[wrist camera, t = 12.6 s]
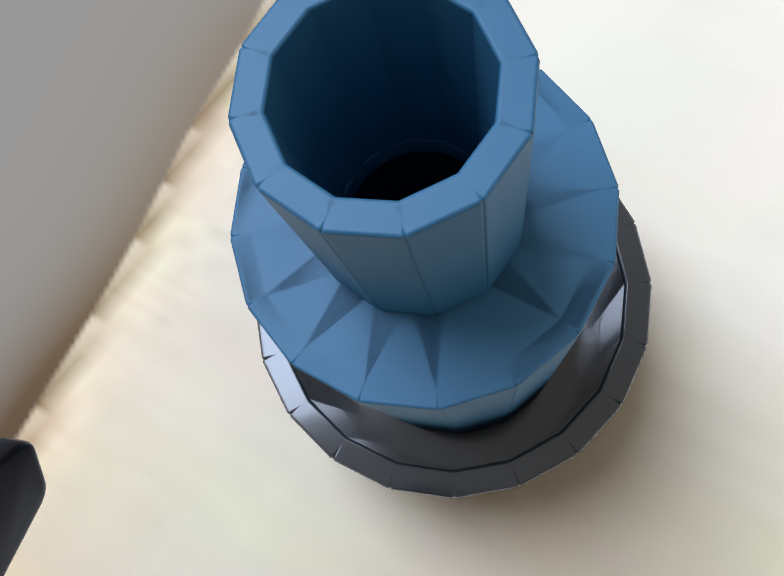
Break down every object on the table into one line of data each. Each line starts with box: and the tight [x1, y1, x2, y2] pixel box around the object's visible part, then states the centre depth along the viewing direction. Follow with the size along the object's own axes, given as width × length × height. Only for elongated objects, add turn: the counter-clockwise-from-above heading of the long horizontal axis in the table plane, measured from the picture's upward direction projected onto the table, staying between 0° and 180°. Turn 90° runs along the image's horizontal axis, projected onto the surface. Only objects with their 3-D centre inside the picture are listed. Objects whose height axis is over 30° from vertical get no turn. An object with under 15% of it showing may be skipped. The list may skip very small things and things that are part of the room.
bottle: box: [228, 0, 619, 433], centre depth 14 cm, size 6×6×14 cm
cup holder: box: [257, 199, 652, 498], centre depth 19 cm, size 9×9×4 cm
